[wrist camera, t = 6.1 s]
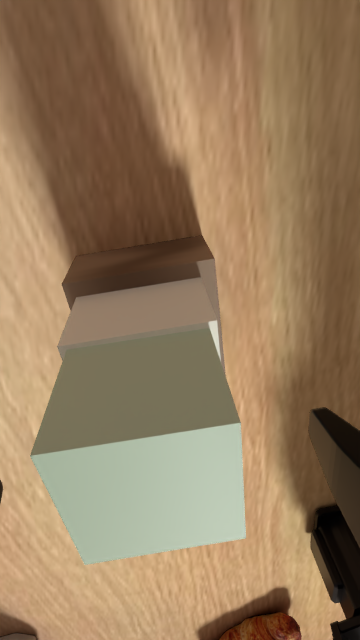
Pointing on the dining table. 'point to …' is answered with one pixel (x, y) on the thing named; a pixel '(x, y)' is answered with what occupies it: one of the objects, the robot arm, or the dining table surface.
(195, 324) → the cream middle block
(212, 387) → the sage block
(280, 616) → the croissant
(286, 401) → the dining table surface
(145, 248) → the walnut base block
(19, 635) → the salt shaker
